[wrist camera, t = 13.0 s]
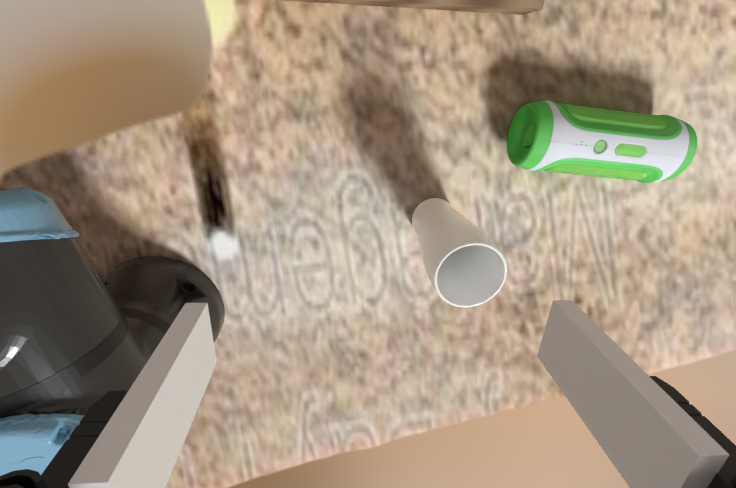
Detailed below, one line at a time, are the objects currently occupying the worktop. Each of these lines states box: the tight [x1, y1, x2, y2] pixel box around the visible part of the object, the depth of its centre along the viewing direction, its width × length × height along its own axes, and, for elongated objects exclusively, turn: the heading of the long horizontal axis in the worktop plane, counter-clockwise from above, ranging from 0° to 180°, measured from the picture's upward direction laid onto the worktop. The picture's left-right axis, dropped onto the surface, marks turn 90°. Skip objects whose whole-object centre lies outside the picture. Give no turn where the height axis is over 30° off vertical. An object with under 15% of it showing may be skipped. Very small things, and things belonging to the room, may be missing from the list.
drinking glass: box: [412, 198, 507, 307], centre depth 40 cm, size 7×7×15 cm
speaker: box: [507, 100, 697, 183], centre depth 41 cm, size 18×7×8 cm, turn 83°
